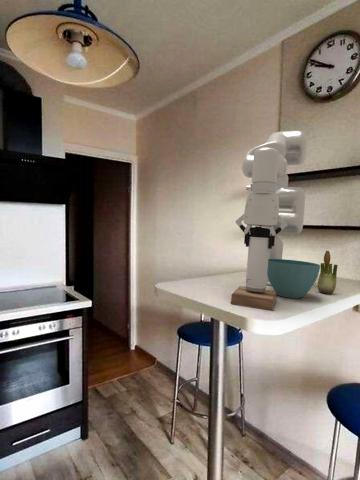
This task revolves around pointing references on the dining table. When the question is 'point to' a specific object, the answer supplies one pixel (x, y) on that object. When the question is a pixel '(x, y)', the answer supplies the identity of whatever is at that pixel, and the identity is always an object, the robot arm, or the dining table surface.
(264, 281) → the travel mug
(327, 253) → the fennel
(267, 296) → the walnut board
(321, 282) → the fennel bulb
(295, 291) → the teal bowl
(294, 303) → the dining table surface
